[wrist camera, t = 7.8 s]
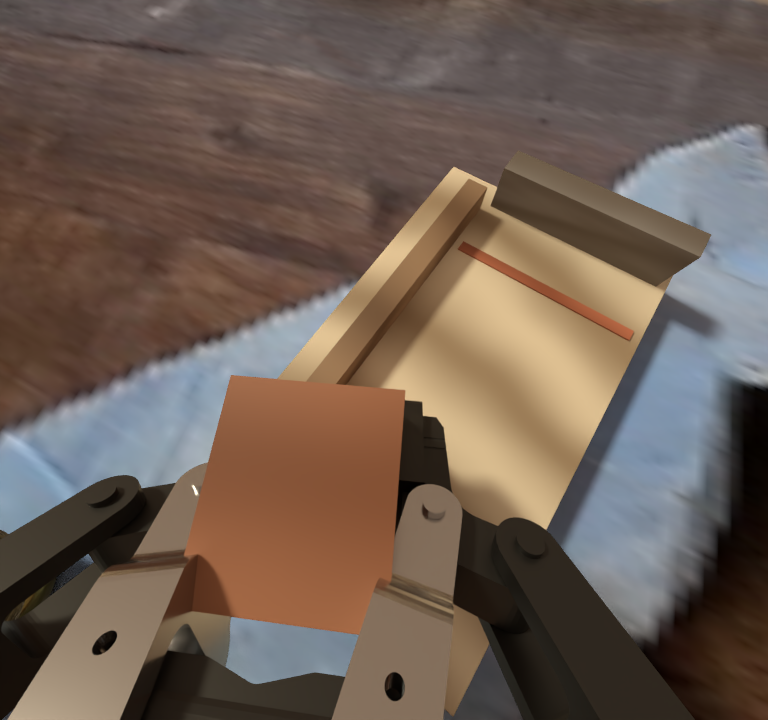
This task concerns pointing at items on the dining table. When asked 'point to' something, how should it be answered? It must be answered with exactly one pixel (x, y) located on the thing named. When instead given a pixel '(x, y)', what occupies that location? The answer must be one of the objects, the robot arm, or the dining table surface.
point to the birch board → (506, 334)
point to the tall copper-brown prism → (298, 503)
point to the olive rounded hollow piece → (32, 600)
